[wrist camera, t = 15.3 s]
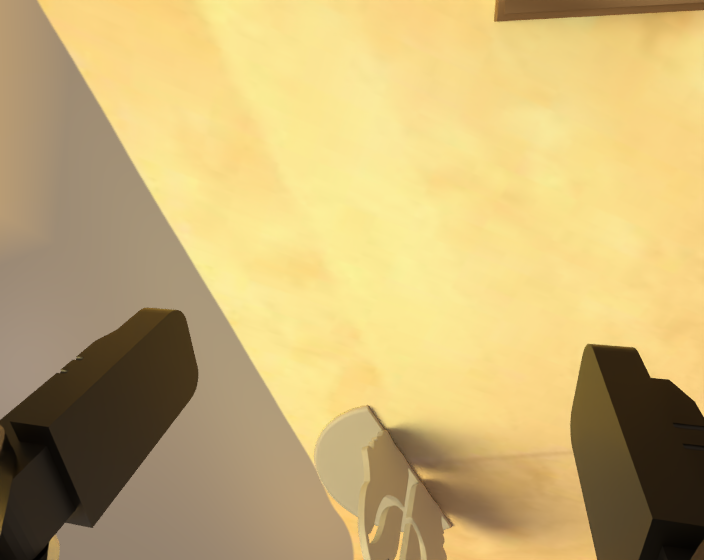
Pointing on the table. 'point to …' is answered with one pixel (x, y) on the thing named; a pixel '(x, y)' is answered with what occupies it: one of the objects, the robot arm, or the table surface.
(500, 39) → the table surface
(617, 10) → the walnut block
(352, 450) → the ornament
